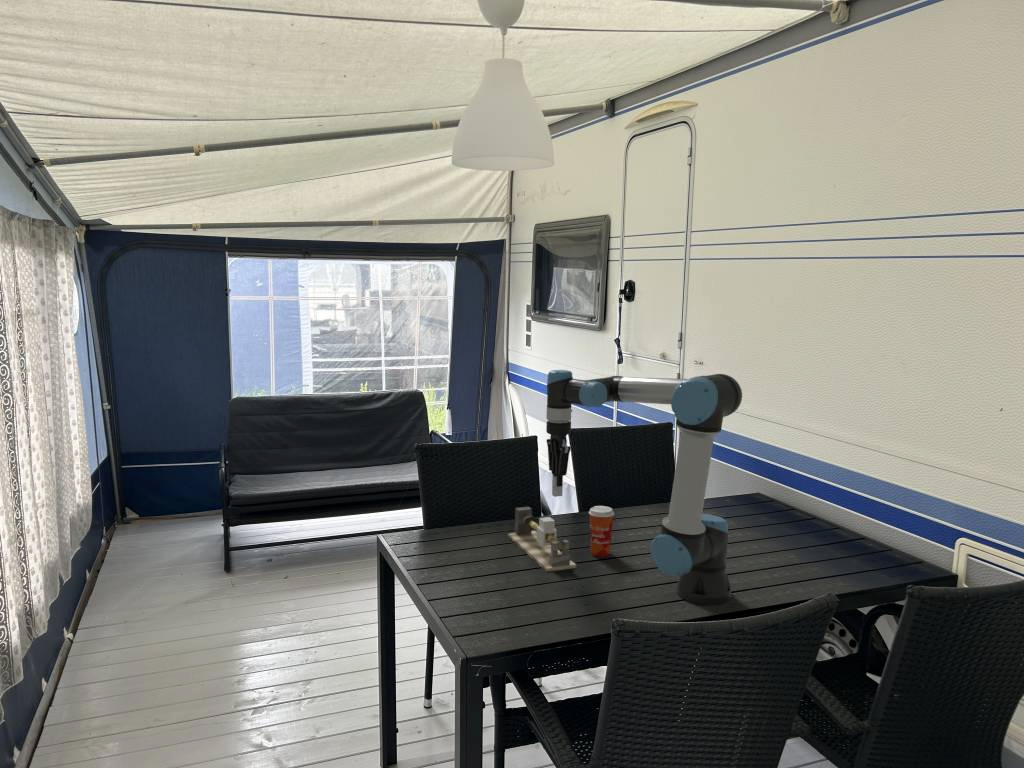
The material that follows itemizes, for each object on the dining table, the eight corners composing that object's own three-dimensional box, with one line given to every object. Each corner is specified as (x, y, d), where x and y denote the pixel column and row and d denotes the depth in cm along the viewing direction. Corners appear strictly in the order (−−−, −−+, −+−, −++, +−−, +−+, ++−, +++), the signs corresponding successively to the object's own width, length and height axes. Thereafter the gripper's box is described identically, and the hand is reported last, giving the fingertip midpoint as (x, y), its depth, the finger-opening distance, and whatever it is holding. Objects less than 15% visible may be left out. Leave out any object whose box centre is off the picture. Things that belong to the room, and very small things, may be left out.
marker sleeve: (556, 544, 246) (557, 521, 245) (542, 546, 244) (543, 522, 243) (550, 539, 251) (550, 516, 249) (536, 541, 249) (537, 517, 248)
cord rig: (576, 567, 239) (577, 536, 237) (546, 571, 235) (547, 540, 234) (534, 533, 270) (535, 505, 269) (508, 536, 267) (508, 508, 265)
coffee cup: (583, 554, 250) (584, 510, 248) (593, 547, 257) (594, 503, 255) (607, 559, 246) (609, 514, 244) (616, 551, 253) (618, 507, 251)
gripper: (579, 424, 230) (577, 500, 233) (561, 416, 242) (559, 488, 246) (556, 425, 227) (554, 502, 230) (539, 417, 240) (537, 490, 243)
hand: (557, 495), depth 238 cm, fingers closed
